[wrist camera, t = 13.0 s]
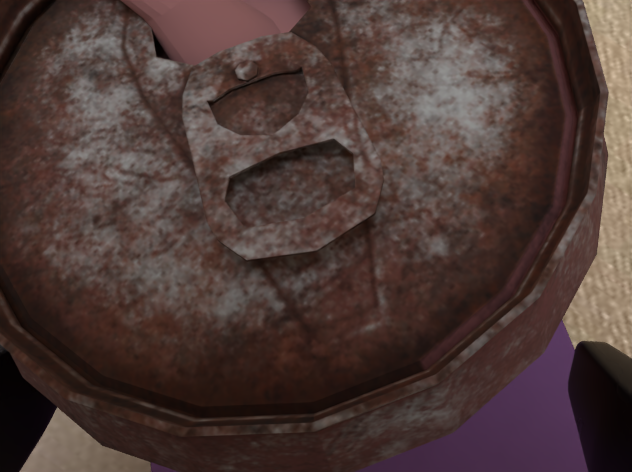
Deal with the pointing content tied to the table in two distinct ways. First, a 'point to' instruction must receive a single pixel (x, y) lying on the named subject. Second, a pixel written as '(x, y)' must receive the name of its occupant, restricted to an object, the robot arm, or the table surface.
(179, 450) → the can
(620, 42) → the table surface
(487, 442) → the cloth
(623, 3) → the table surface
